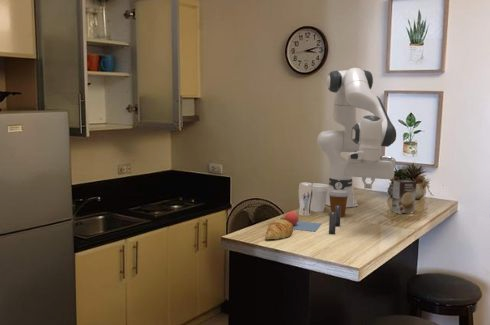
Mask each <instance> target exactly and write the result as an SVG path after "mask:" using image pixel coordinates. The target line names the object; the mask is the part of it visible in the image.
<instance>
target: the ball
mask: <svg viewBox="0 0 490 325" xmlns="http://www.w3.org/2000/svg"><path fill="white" fill-rule="evenodd" d="M285 215H286V216H285V220H287V221H289V222H290V223H293V225H295V224H297V222H298V221H299V214H297V213H296V212H294V211H289V212H287V213H286V214H285Z"/></svg>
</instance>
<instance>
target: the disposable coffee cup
mask: <svg viewBox="0 0 490 325" xmlns="http://www.w3.org/2000/svg"><path fill="white" fill-rule="evenodd" d="M348 195H349V194H348V191H346V190H340V189H333V190H330V191H329V196H330V206H329V207H330V212H335V206H336V205H339V206H341V218H344V217H345V216H346V215H345V213H346V209H347V207H346V203H347V198H348Z"/></svg>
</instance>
